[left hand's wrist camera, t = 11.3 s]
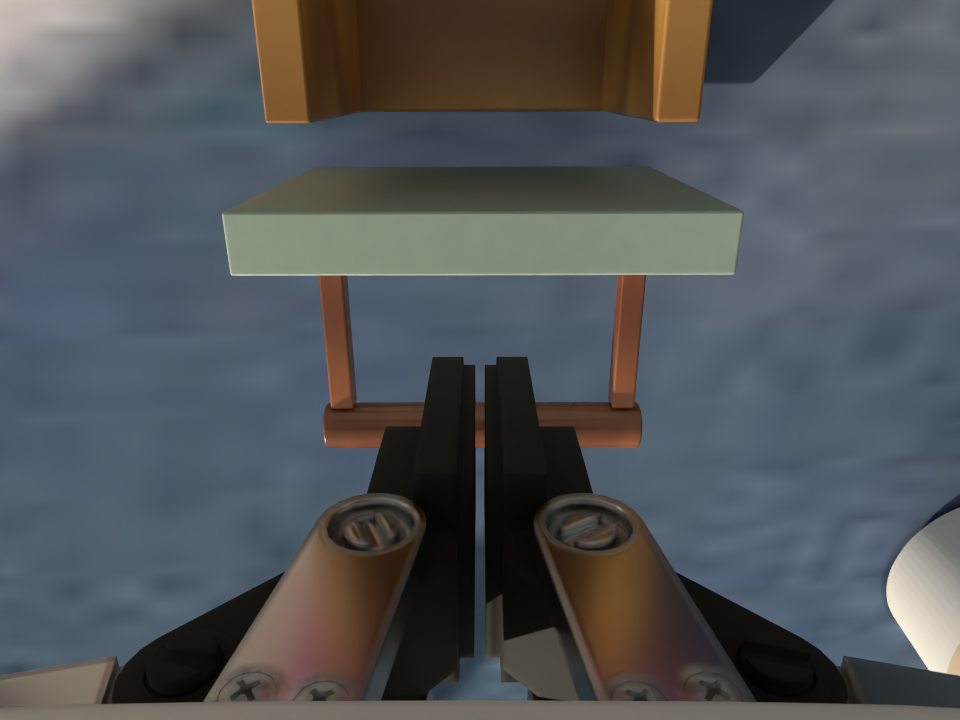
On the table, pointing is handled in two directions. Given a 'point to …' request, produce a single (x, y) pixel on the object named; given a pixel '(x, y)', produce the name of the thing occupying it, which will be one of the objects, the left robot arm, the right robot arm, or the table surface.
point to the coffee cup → (930, 593)
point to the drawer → (482, 171)
